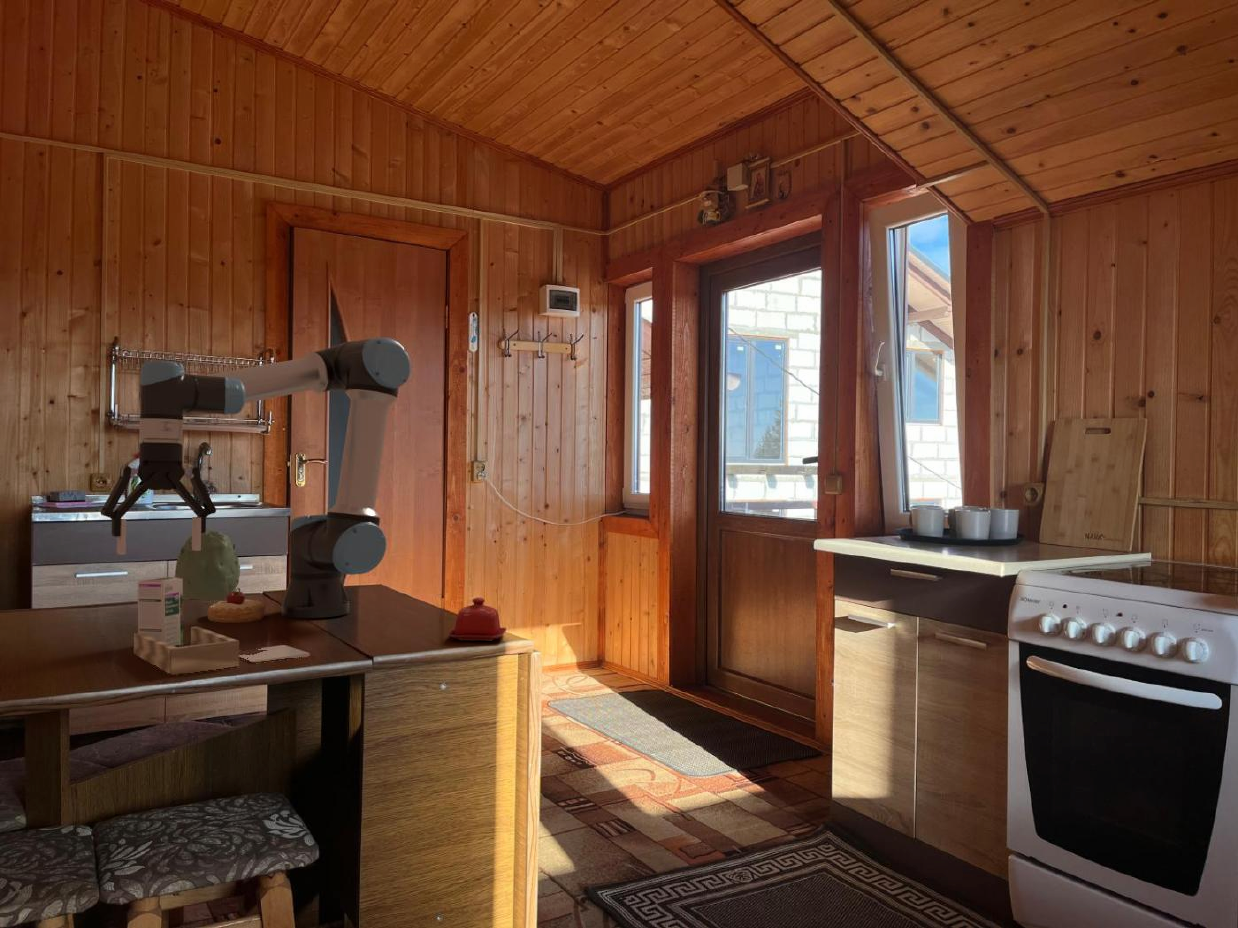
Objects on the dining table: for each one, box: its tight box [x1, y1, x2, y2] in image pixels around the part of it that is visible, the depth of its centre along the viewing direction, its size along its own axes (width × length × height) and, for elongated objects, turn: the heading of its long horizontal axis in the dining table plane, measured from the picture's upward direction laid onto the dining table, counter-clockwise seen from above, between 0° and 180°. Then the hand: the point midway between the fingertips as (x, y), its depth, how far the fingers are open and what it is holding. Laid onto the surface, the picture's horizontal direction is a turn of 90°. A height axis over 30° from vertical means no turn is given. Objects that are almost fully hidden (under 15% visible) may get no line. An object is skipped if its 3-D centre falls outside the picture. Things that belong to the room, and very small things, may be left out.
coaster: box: [239, 644, 311, 662], centre depth 179 cm, size 11×11×1 cm
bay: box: [133, 626, 240, 675], centre depth 171 cm, size 20×11×5 cm, turn 44°
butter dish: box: [448, 597, 507, 641], centre depth 201 cm, size 12×12×8 cm
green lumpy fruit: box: [174, 529, 241, 601], centre depth 239 cm, size 16×19×20 cm
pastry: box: [207, 587, 266, 624], centre depth 212 cm, size 12×12×9 cm
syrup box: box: [137, 576, 184, 647], centre depth 181 cm, size 6×6×14 cm
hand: (159, 552), depth 181 cm, fingers open, 13 cm apart
